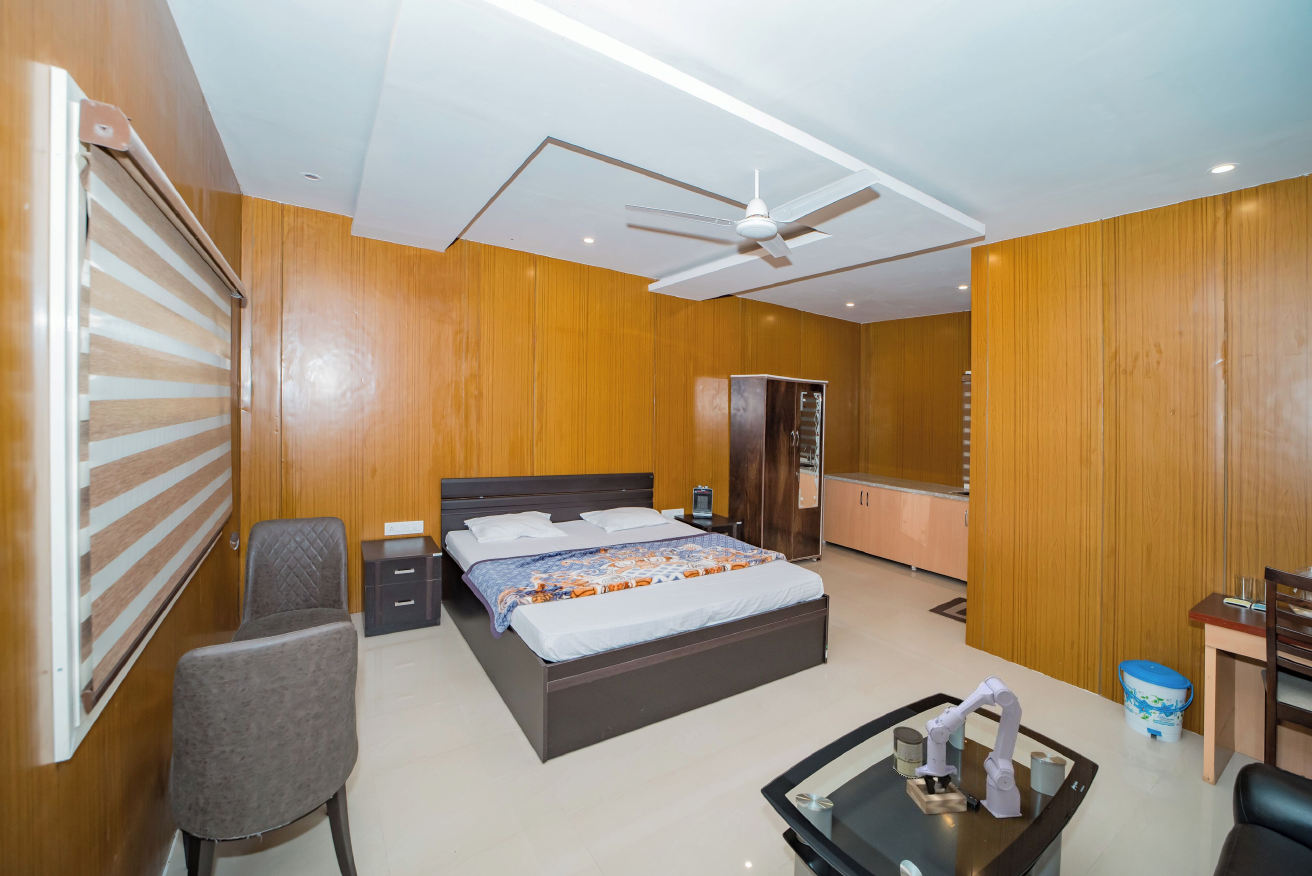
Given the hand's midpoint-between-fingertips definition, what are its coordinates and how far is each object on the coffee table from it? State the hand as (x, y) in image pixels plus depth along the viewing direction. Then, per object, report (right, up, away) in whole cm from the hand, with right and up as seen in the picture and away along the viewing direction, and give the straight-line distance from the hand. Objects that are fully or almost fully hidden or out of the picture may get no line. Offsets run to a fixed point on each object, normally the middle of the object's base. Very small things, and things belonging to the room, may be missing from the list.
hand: (935, 794), depth 185 cm
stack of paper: (0, -2, 0) cm, 2 cm away
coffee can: (-2, -2, +17) cm, 17 cm away
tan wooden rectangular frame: (0, -2, 0) cm, 2 cm away
